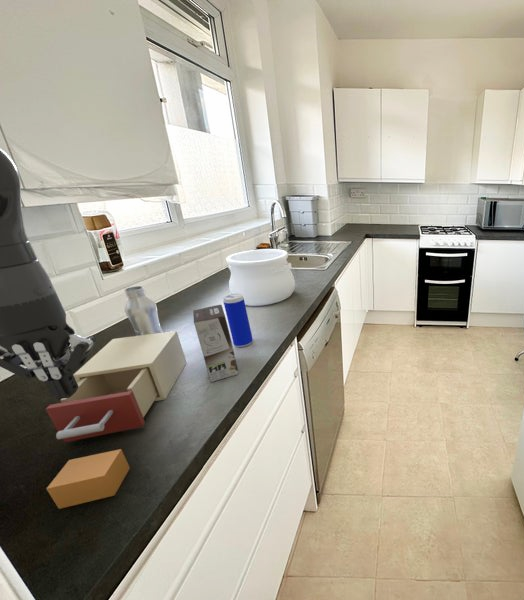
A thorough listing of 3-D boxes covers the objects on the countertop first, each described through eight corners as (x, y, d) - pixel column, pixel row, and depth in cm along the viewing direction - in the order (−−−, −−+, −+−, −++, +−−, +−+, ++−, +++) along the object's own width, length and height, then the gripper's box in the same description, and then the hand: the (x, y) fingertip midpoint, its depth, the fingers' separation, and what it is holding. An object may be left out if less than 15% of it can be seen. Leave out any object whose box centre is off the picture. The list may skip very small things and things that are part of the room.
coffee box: (239, 374, 78) (225, 316, 72) (210, 382, 75) (192, 322, 69) (235, 357, 85) (222, 303, 79) (208, 364, 82) (192, 309, 76)
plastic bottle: (140, 356, 87) (115, 288, 79) (170, 347, 91) (148, 282, 83) (143, 365, 82) (117, 295, 75) (174, 356, 86) (151, 288, 79)
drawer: (131, 446, 57) (116, 412, 54) (45, 464, 53) (23, 429, 50) (169, 383, 74) (159, 354, 71) (105, 393, 70) (92, 364, 67)
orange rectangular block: (58, 509, 47) (45, 488, 45) (79, 479, 52) (68, 459, 50) (114, 495, 49) (104, 475, 47) (130, 467, 53) (121, 448, 52)
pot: (308, 288, 137) (303, 248, 130) (278, 310, 115) (270, 264, 108) (254, 285, 141) (247, 247, 135) (216, 306, 119) (204, 261, 112)
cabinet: (165, 399, 70) (151, 363, 66) (90, 413, 66) (72, 375, 62) (186, 362, 84) (176, 330, 80) (126, 371, 80) (112, 338, 76)
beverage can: (256, 340, 94) (247, 293, 89) (245, 348, 90) (234, 300, 84) (242, 338, 95) (231, 292, 90) (230, 346, 91) (218, 299, 85)
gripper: (89, 282, 48) (127, 375, 55) (-17, 290, 46) (37, 387, 52) (51, 300, 42) (100, 404, 48) (-75, 310, 39) (-6, 419, 46)
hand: (67, 395), depth 50 cm, fingers closed
